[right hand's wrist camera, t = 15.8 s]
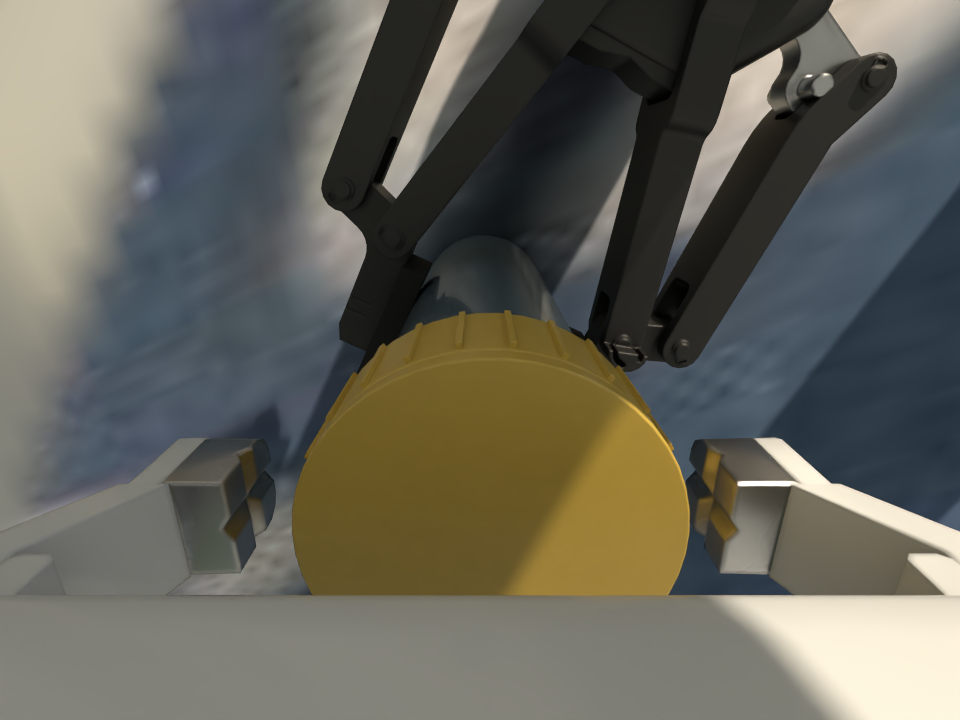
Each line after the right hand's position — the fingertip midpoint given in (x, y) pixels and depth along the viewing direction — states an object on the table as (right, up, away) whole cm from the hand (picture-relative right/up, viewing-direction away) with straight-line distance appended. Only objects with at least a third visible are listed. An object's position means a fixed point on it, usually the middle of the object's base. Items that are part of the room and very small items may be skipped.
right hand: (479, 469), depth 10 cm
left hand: (-2, -2, +9) cm, 9 cm away
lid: (0, -1, -2) cm, 2 cm away
